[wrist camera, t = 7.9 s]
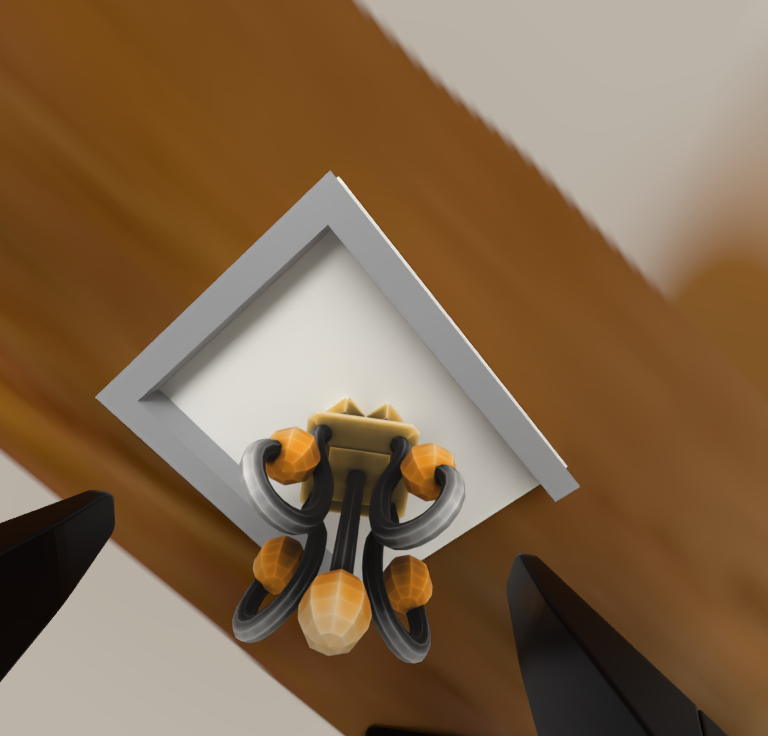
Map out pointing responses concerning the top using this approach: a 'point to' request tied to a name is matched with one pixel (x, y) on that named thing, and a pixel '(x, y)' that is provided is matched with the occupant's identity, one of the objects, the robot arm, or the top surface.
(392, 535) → the figurine
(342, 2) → the top surface
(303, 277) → the tray
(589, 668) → the robot arm
